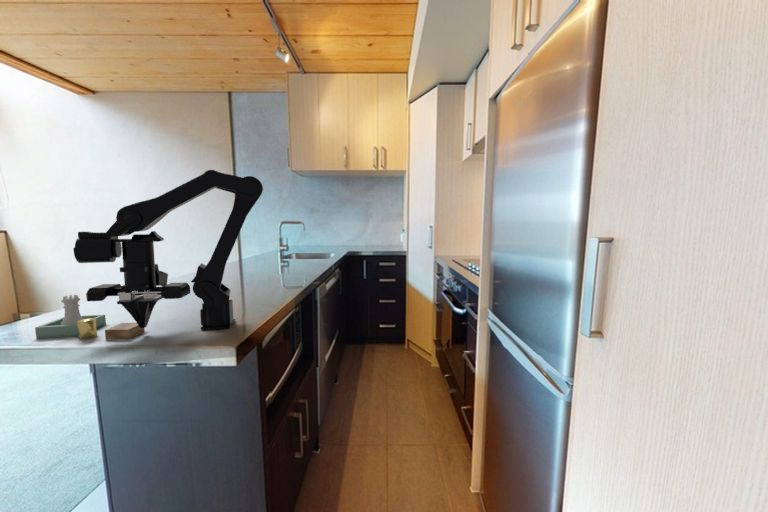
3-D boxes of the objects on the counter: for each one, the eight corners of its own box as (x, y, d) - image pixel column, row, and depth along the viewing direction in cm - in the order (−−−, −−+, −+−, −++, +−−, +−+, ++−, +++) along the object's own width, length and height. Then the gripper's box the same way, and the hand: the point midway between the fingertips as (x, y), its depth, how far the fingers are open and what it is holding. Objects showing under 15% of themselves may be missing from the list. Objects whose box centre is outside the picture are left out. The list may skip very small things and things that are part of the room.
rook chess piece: (69, 332, 73) (66, 298, 72) (55, 330, 74) (51, 297, 73) (91, 326, 77) (88, 294, 76) (77, 325, 78) (74, 293, 77)
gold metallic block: (100, 334, 73) (98, 317, 73) (91, 339, 70) (89, 321, 70) (85, 335, 73) (83, 318, 72) (75, 340, 70) (73, 322, 69)
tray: (106, 324, 81) (105, 314, 80) (80, 335, 72) (79, 325, 72) (66, 325, 79) (65, 316, 79) (36, 338, 70) (35, 327, 70)
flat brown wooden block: (144, 332, 76) (143, 322, 75) (129, 340, 71) (128, 329, 70) (122, 333, 75) (121, 322, 75) (105, 340, 70) (104, 330, 70)
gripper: (197, 257, 81) (200, 315, 83) (114, 257, 78) (119, 319, 79) (178, 262, 71) (182, 329, 72) (81, 263, 67) (87, 334, 69)
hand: (143, 327), depth 73 cm, fingers closed
